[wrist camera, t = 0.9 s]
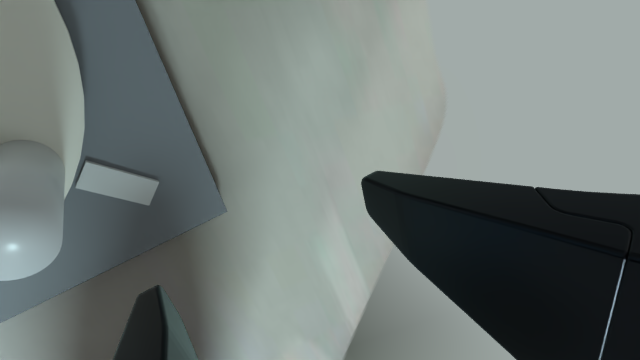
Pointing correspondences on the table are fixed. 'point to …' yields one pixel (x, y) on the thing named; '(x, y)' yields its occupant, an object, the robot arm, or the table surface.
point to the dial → (36, 133)
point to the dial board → (121, 157)
